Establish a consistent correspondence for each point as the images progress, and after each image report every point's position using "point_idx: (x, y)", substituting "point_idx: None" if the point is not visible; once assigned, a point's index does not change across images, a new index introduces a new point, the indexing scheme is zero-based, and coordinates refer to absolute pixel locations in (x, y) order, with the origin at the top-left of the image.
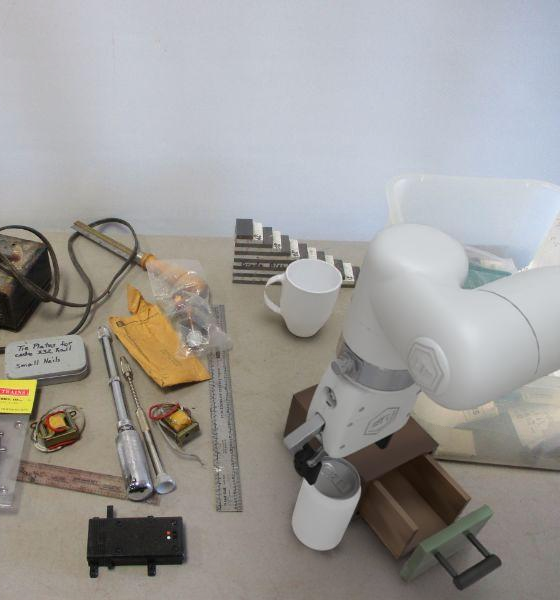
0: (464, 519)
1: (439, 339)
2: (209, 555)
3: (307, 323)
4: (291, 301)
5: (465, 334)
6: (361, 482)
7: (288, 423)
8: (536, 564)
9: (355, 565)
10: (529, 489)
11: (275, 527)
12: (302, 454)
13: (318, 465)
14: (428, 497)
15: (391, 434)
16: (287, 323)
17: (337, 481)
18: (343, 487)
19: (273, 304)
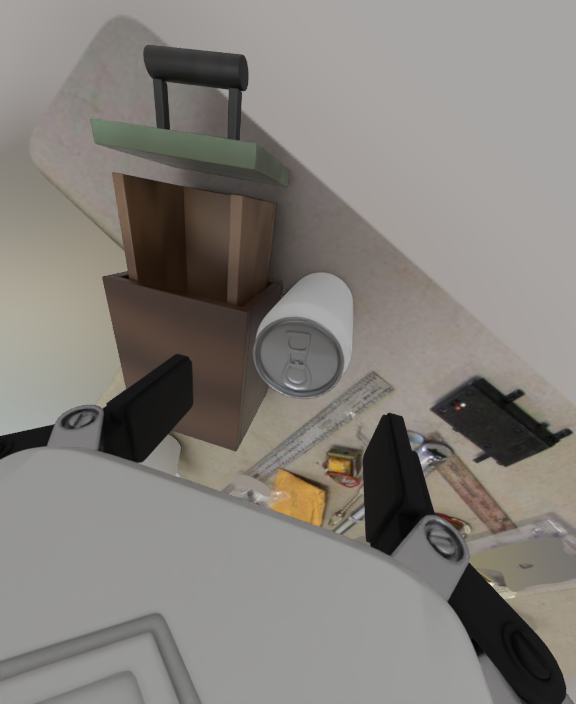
0: (148, 146)
1: None
2: (449, 363)
3: (159, 458)
4: None
5: None
6: (252, 316)
7: (257, 408)
8: (112, 61)
9: (322, 238)
10: (58, 157)
11: (359, 335)
12: (542, 687)
13: (418, 505)
14: (178, 235)
15: (136, 389)
16: (177, 461)
17: (298, 352)
18: (299, 339)
19: None
